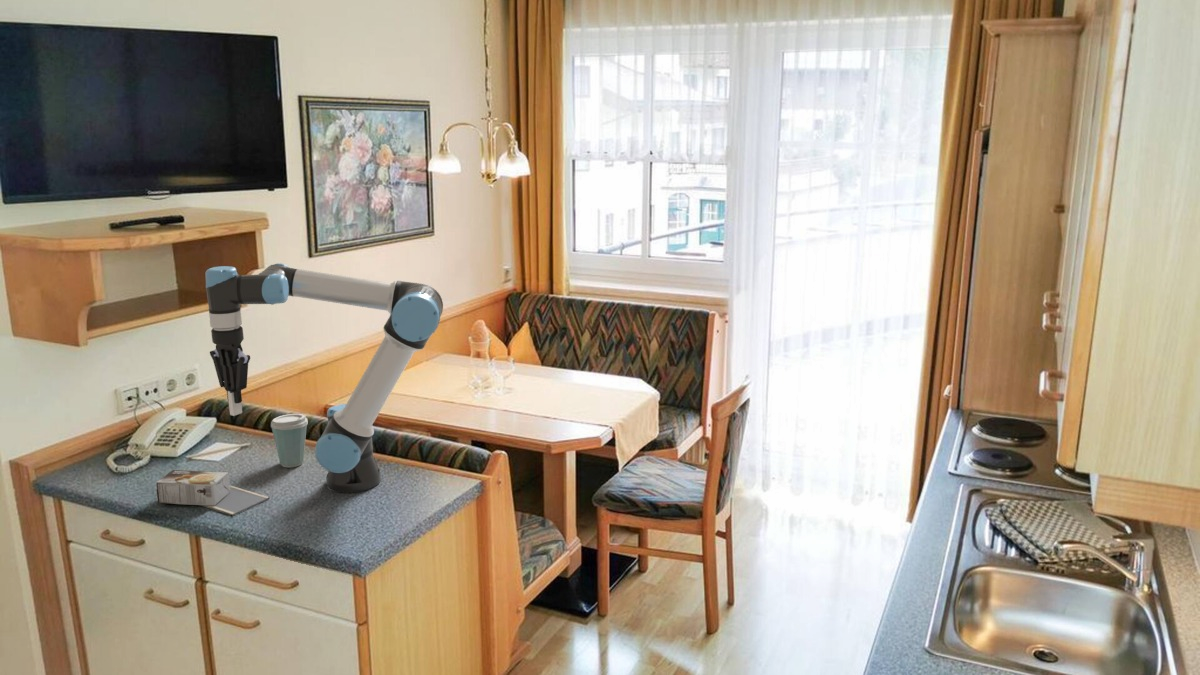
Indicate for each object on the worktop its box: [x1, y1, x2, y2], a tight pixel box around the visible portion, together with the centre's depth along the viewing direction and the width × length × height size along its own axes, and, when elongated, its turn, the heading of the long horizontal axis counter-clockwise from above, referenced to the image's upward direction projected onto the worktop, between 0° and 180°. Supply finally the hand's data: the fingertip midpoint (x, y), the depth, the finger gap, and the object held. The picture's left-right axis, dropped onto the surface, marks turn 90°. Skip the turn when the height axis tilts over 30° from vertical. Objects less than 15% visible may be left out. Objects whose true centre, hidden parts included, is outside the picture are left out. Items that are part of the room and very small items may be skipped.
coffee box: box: [156, 469, 231, 506], centre depth 247 cm, size 9×6×16 cm
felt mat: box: [199, 484, 270, 517], centre depth 250 cm, size 26×12×1 cm, turn 60°
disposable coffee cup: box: [270, 413, 309, 468], centre depth 271 cm, size 11×11×15 cm
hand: (236, 413), depth 238 cm, fingers closed
